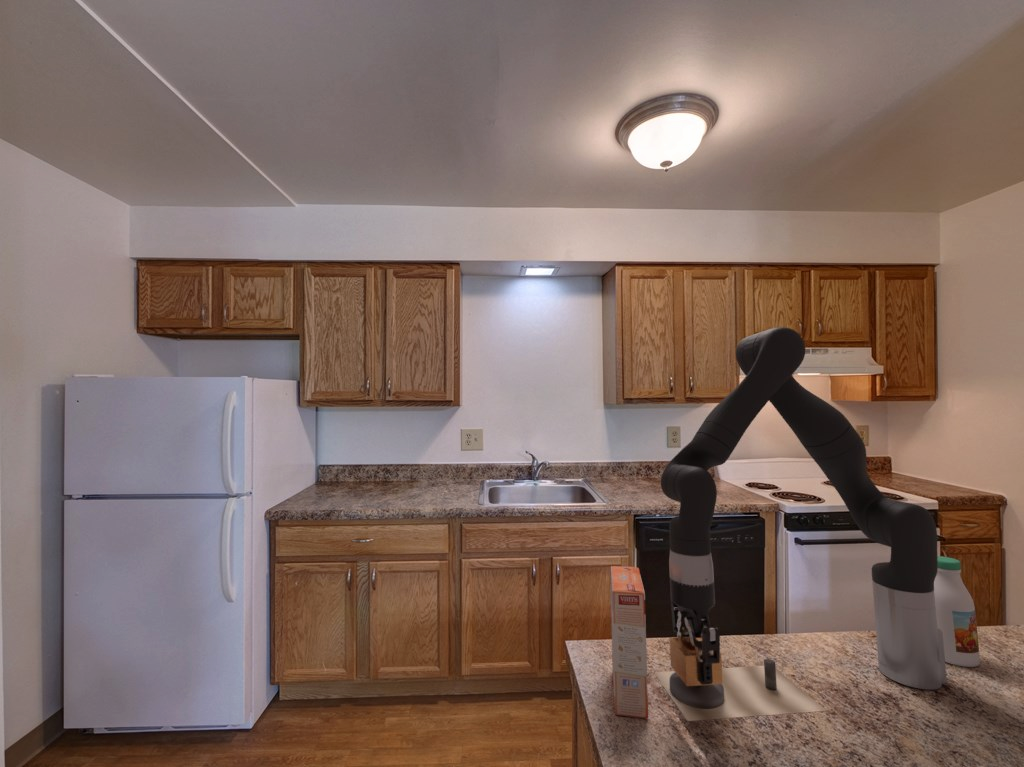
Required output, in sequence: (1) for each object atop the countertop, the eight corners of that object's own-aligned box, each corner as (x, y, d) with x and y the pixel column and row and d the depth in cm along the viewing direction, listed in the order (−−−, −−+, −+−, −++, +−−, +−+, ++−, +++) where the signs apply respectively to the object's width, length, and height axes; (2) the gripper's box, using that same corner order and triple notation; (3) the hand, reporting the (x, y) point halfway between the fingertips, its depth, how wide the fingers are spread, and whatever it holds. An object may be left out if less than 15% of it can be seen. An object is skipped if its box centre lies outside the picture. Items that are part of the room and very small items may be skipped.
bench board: (772, 672, 89) (770, 636, 90) (827, 720, 75) (824, 676, 76) (654, 680, 87) (652, 643, 88) (688, 730, 73) (686, 685, 74)
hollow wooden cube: (704, 663, 85) (702, 636, 85) (722, 683, 78) (721, 653, 79) (670, 665, 84) (669, 638, 84) (686, 686, 78) (685, 655, 78)
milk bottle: (938, 664, 91) (930, 562, 93) (921, 646, 99) (913, 551, 100) (989, 671, 89) (979, 566, 90) (967, 652, 96) (959, 555, 97)
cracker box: (650, 721, 76) (646, 592, 78) (614, 716, 77) (610, 590, 79) (643, 674, 90) (639, 565, 91) (612, 671, 91) (609, 564, 92)
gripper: (733, 590, 76) (739, 695, 74) (692, 562, 90) (696, 650, 89) (690, 592, 75) (694, 698, 74) (655, 564, 89) (659, 652, 88)
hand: (695, 671), depth 81 cm, fingers closed on hollow wooden cube, 6 cm apart
